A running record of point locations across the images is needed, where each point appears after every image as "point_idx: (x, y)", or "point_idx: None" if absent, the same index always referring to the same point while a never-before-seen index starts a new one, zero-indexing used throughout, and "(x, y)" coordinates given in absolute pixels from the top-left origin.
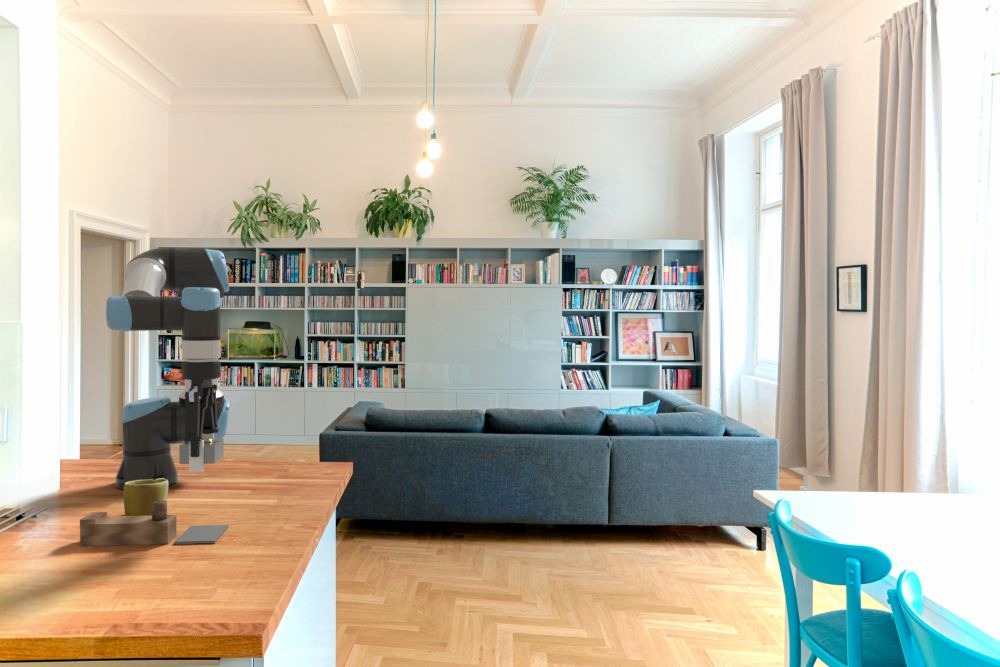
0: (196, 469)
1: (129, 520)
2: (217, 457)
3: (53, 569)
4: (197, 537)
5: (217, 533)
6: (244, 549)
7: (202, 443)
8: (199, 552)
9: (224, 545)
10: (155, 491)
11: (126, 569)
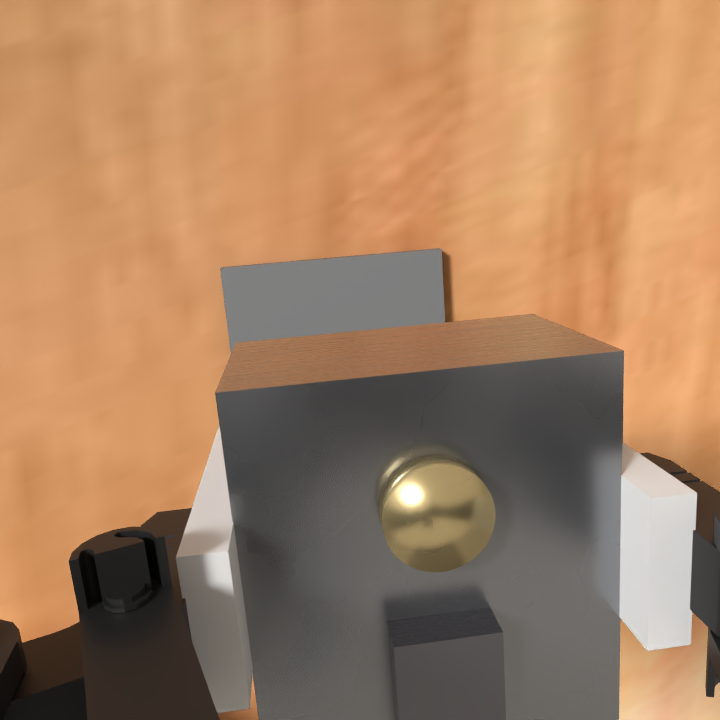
0: None
1: None
2: (448, 329)
3: (657, 684)
4: None
5: (347, 273)
6: (515, 85)
7: (676, 481)
8: (539, 273)
9: (462, 196)
10: None
11: (684, 463)
